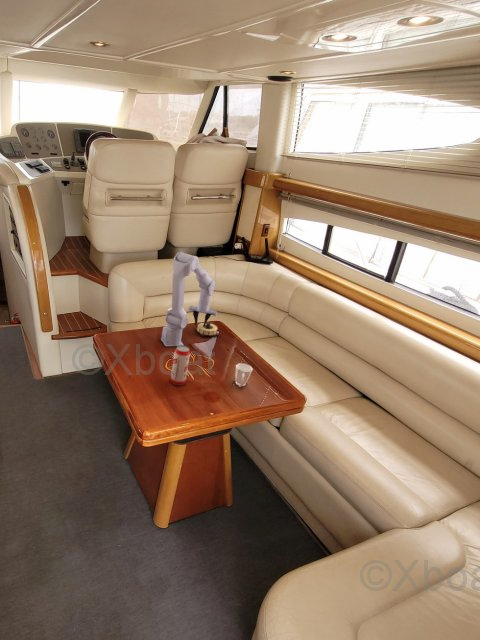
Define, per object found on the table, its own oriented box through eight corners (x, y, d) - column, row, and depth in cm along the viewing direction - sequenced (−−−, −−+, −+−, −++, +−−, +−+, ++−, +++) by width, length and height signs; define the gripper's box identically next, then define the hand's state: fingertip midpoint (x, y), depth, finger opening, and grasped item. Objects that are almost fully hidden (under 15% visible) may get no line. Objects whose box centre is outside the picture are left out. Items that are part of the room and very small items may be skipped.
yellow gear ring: (201, 335, 200) (202, 331, 199) (194, 327, 208) (195, 323, 207) (219, 334, 203) (220, 330, 201) (212, 326, 211) (212, 322, 210)
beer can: (185, 379, 164) (190, 345, 156) (185, 387, 158) (190, 353, 150) (170, 377, 164) (175, 343, 156) (170, 385, 159) (174, 351, 151)
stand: (202, 337, 201) (204, 327, 198) (195, 329, 209) (197, 320, 206) (218, 336, 204) (219, 326, 201) (211, 329, 211) (212, 319, 208)
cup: (248, 381, 167) (253, 365, 163) (248, 393, 158) (252, 376, 154) (232, 377, 168) (236, 361, 164) (231, 389, 159) (235, 373, 155)
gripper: (219, 301, 200) (214, 325, 207) (192, 296, 204) (188, 319, 210) (217, 306, 194) (212, 330, 201) (189, 300, 198) (185, 324, 204)
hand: (200, 325), depth 205 cm, fingers open, 4 cm apart
